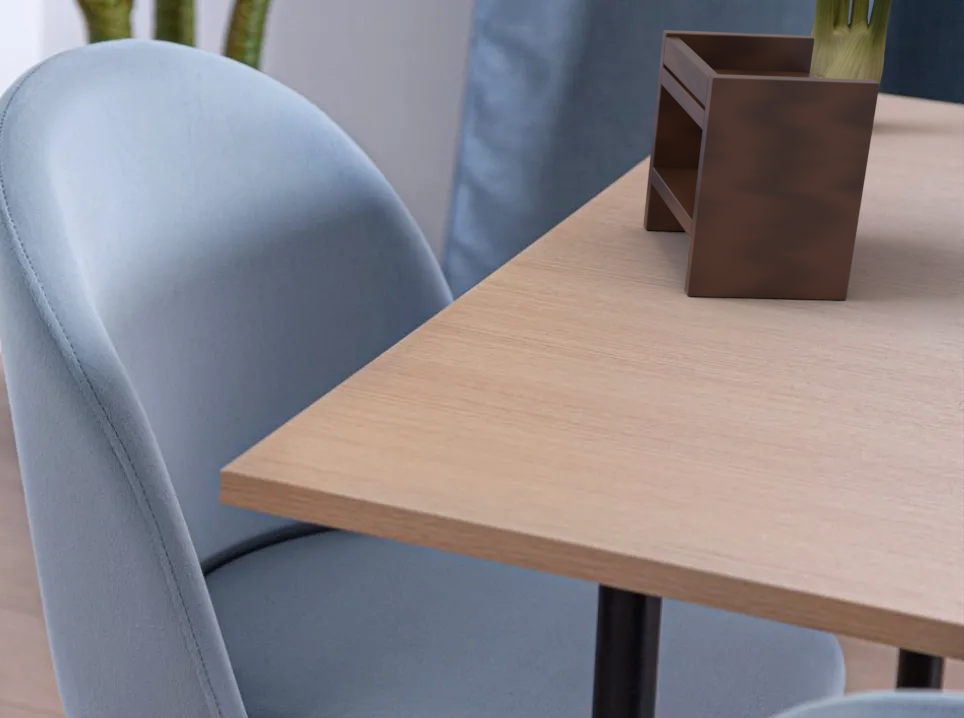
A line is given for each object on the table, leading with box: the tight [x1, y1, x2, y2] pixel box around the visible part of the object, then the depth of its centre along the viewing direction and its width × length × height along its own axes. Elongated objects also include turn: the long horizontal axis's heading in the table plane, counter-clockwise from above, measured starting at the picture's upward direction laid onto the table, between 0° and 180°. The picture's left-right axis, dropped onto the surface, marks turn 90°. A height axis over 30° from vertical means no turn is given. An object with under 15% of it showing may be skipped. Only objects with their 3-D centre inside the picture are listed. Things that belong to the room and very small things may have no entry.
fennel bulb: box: [810, 0, 892, 86], centre depth 136 cm, size 6×5×12 cm
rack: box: [642, 29, 880, 301], centre depth 102 cm, size 9×14×12 cm, turn 4°
